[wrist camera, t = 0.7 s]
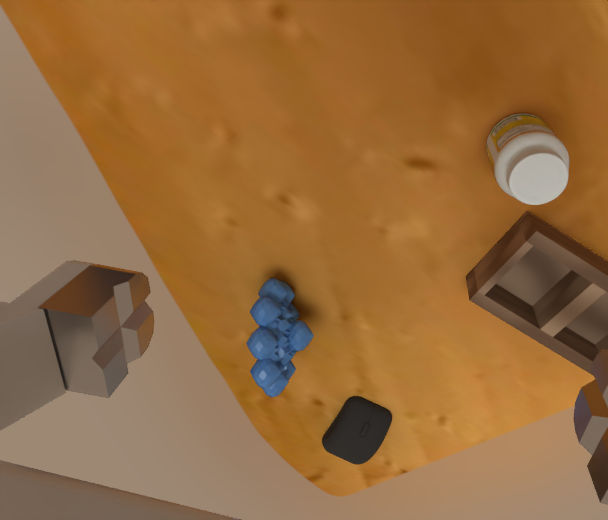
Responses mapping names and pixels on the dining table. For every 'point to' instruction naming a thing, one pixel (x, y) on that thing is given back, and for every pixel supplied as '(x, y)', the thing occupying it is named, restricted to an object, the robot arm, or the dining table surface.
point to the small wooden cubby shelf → (546, 289)
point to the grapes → (276, 336)
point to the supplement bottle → (528, 159)
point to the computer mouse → (357, 430)
